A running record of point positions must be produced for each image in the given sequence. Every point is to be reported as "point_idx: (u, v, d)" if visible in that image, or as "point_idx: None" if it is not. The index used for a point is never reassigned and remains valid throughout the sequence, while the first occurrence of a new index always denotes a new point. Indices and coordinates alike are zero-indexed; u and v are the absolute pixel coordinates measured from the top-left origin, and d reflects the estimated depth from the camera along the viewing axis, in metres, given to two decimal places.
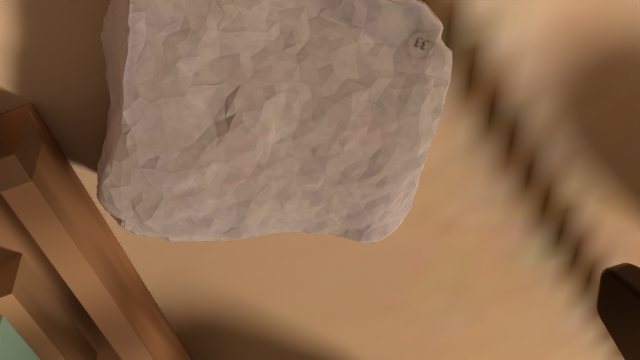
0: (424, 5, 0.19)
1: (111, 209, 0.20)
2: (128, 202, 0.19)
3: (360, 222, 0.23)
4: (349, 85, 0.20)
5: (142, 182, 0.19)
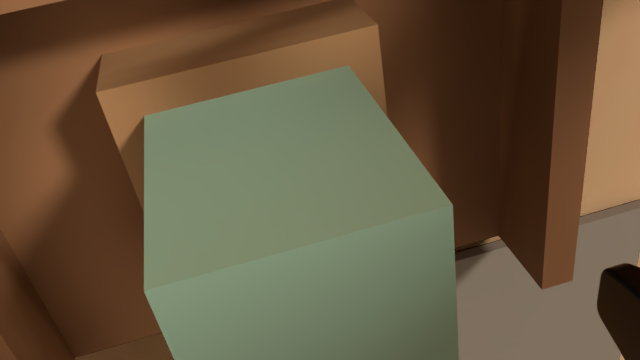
0: None
1: None
2: None
3: None
4: None
5: None
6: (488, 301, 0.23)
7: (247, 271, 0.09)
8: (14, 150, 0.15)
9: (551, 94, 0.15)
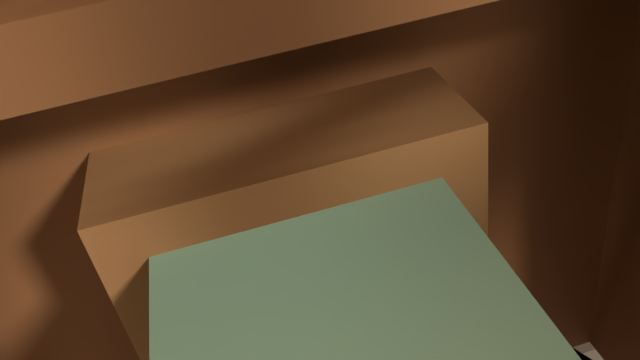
0: None
1: None
2: None
3: None
4: None
5: None
6: None
7: None
8: None
9: None
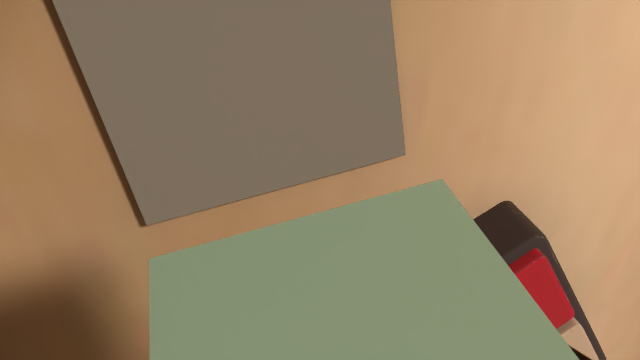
0: None
1: None
2: None
3: None
4: None
5: None
6: None
7: None
8: None
9: None
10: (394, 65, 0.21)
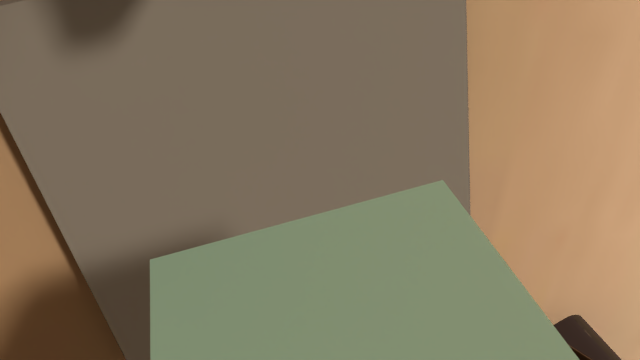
0: None
1: None
2: None
3: None
4: None
5: None
6: (194, 86, 0.13)
7: None
8: None
9: None
10: (466, 163, 0.16)
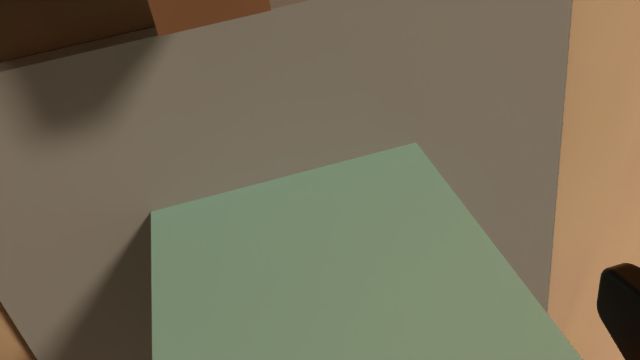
0: None
1: None
2: None
3: None
4: None
5: None
6: (210, 178, 0.10)
7: None
8: None
9: None
10: (548, 254, 0.13)
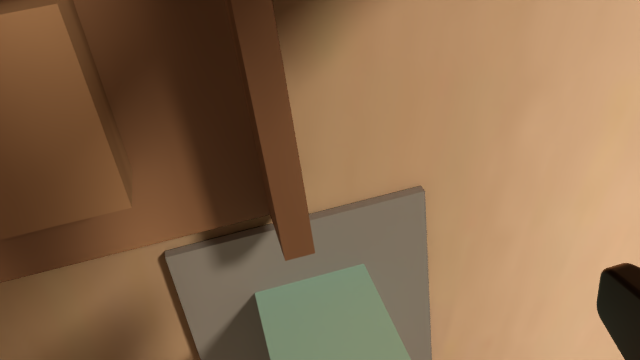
0: None
1: None
2: None
3: None
4: None
5: None
6: (279, 279, 0.24)
7: None
8: None
9: (245, 74, 0.16)
10: (428, 308, 0.27)
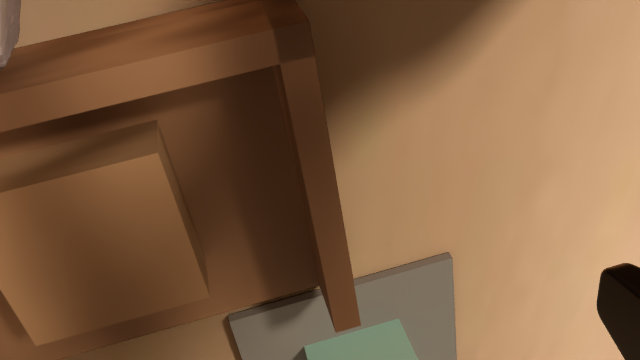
0: None
1: None
2: None
3: None
4: None
5: None
6: (325, 334, 0.27)
7: None
8: None
9: (306, 194, 0.20)
10: (454, 351, 0.30)
